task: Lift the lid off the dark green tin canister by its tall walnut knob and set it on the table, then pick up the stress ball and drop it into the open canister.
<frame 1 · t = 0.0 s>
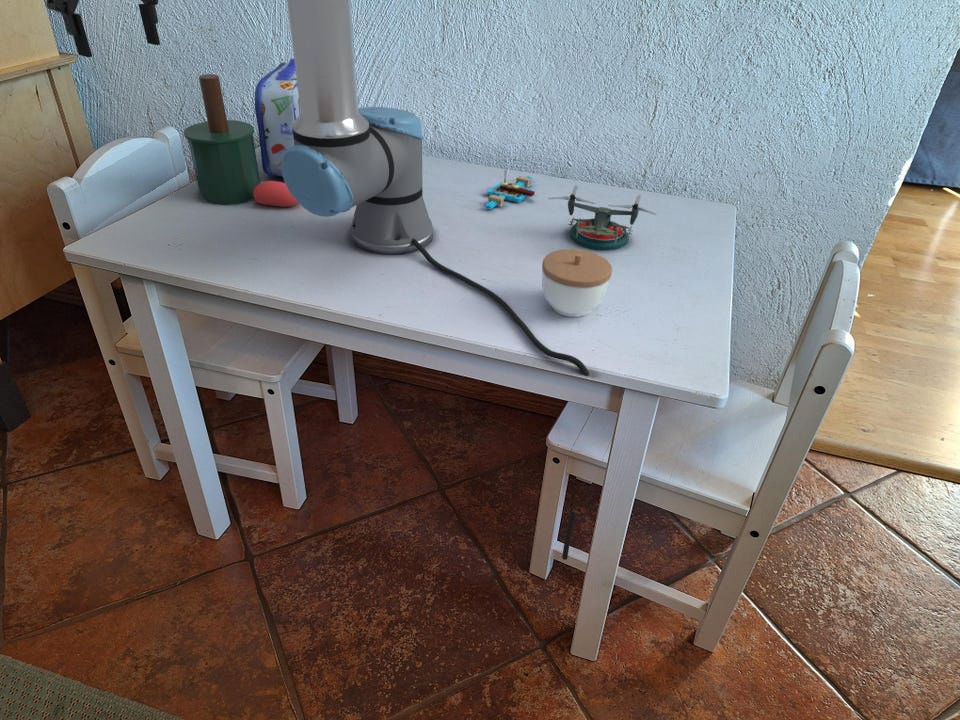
hand: (121, 49, 117), 28 cm above the table, tool pointing down, fingers open, 13 cm apart
canister: (231, 192, 137), on the table
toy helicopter: (597, 242, 125), on the table
canister lid: (219, 132, 130), point 12 cm above the table, touching canister
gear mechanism: (512, 196, 142), on the table
lunch box: (297, 165, 152), on the table
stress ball: (276, 205, 133), on the table
trinket box: (571, 308, 105), on the table
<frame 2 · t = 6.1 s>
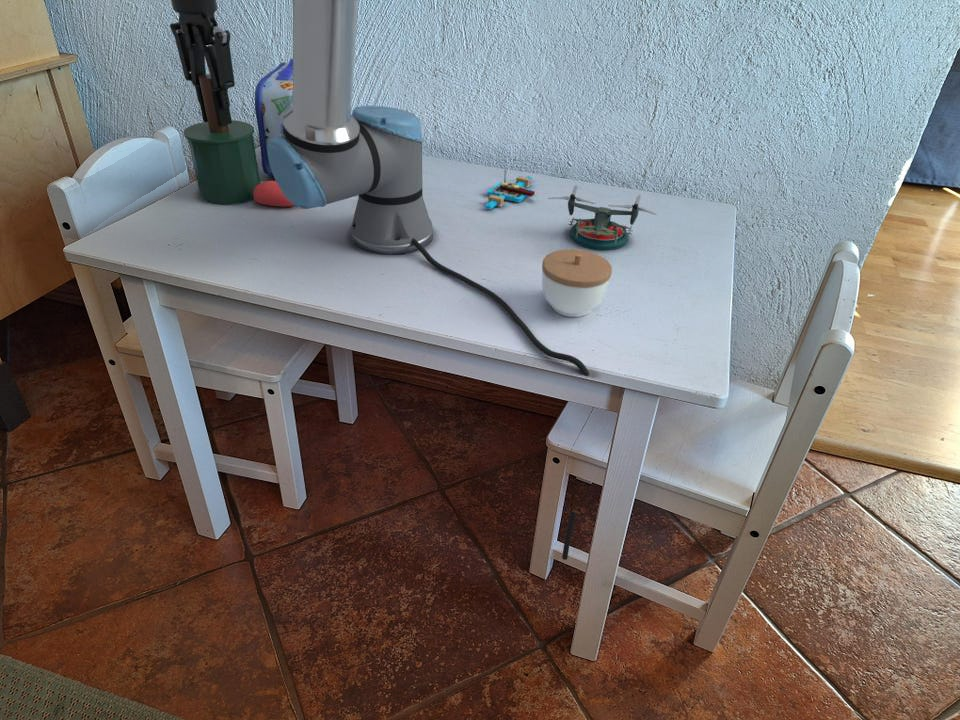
hand: (217, 122, 129), 15 cm above the table, tool pointing down, fingers closed on canister lid, 4 cm apart
canister lid: (219, 132, 130), point 13 cm above the table, touching canister, gripper
everything else where it was.
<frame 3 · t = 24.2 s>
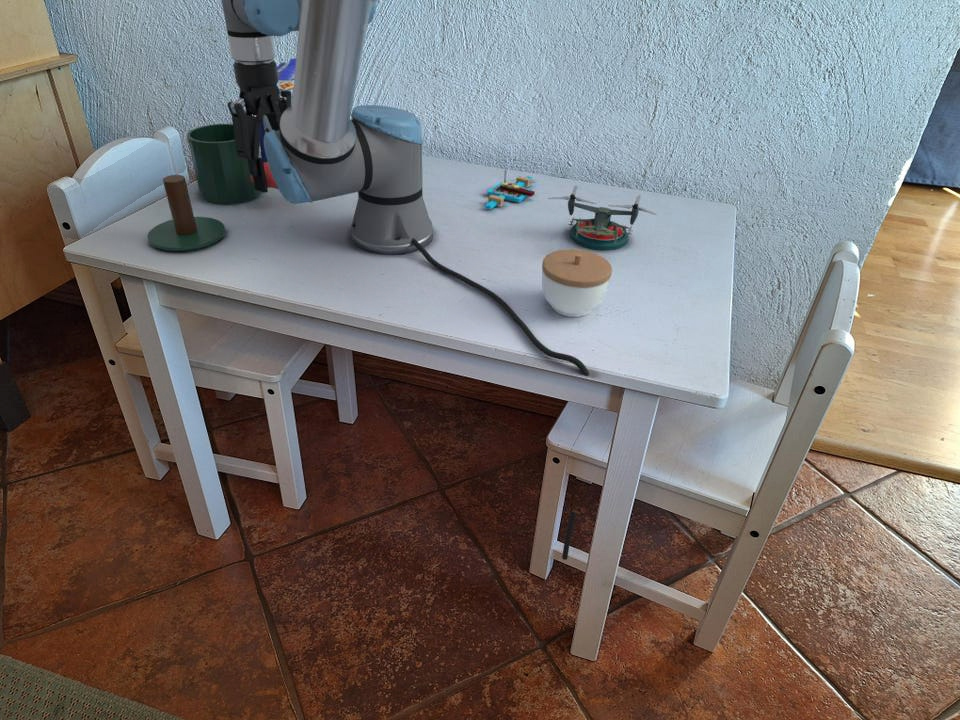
hand: (274, 185, 130), 4 cm above the table, tool pointing down, fingers closed on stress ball, 6 cm apart
canister lid: (187, 234, 120), point 1 cm above the table
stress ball: (274, 188, 131), point 4 cm above the table, touching gripper
everything else where it was.
when the fingers open (13 cm above the table, at t = 32.2 s): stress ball stays where it is, resting on canister.
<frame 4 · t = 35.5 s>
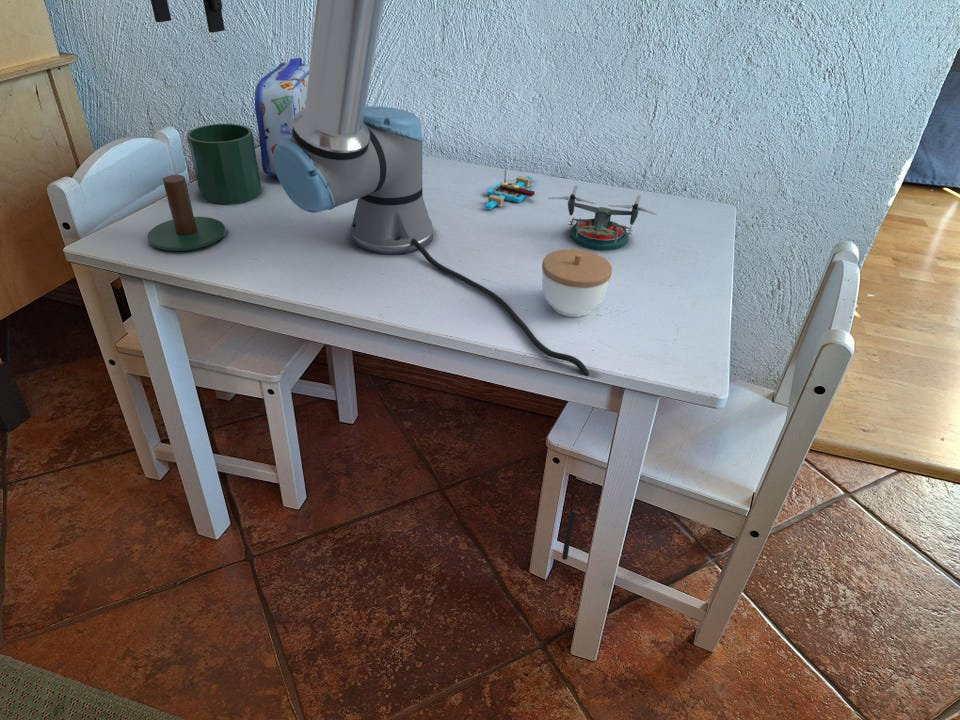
hand: (189, 26, 113), 33 cm above the table, tool pointing down, fingers open, 13 cm apart
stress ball: (225, 185, 135), point 2 cm above the table, touching canister
everything else where it was.
at the end: canister lid inside the target area (0.1 cm from its centre), point 0.6 cm above the table; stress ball inside the target area in the canister (1.2 cm from its centre), point 2.1 cm above the canister's base; the gripper is holding nothing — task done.
